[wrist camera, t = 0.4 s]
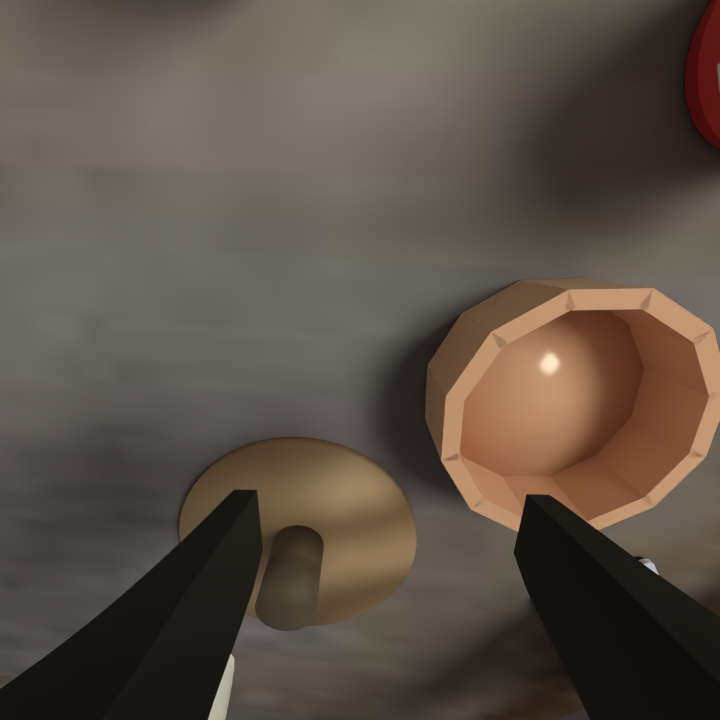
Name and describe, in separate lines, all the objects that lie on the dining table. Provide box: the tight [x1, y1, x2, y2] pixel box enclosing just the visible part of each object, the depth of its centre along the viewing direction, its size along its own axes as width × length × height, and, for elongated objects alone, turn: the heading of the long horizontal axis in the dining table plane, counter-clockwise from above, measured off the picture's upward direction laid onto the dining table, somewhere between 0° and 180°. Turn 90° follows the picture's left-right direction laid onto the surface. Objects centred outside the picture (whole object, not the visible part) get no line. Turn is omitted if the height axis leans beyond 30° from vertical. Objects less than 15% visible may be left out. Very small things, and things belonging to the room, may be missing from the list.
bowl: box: [425, 279, 720, 532], centre depth 16 cm, size 12×12×4 cm
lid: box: [179, 437, 417, 631], centre depth 20 cm, size 15×15×5 cm
